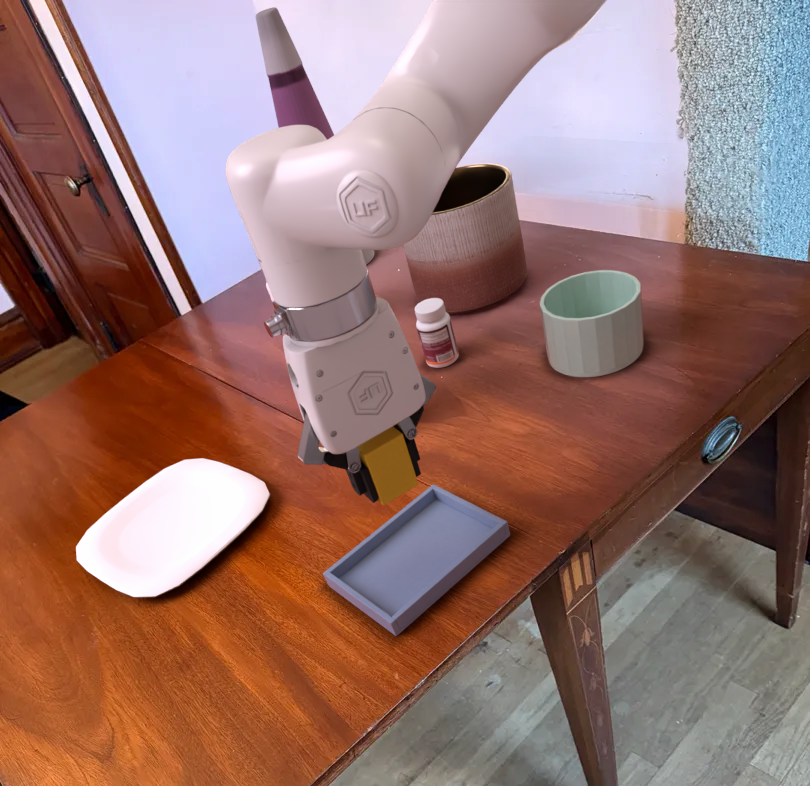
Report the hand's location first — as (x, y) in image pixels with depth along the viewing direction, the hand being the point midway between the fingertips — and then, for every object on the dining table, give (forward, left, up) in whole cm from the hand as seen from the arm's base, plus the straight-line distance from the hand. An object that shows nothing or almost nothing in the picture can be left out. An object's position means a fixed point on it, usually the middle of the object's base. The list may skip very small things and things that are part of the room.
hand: (389, 480), depth 70 cm
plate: (+33, -6, -11) cm, 35 cm away
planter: (+4, -59, -11) cm, 60 cm away
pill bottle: (+5, -39, -11) cm, 41 cm away
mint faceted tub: (-16, -37, -11) cm, 42 cm away
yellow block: (0, 0, -1) cm, 1 cm away
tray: (0, 0, -11) cm, 11 cm away
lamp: (+31, -77, -11) cm, 84 cm away
